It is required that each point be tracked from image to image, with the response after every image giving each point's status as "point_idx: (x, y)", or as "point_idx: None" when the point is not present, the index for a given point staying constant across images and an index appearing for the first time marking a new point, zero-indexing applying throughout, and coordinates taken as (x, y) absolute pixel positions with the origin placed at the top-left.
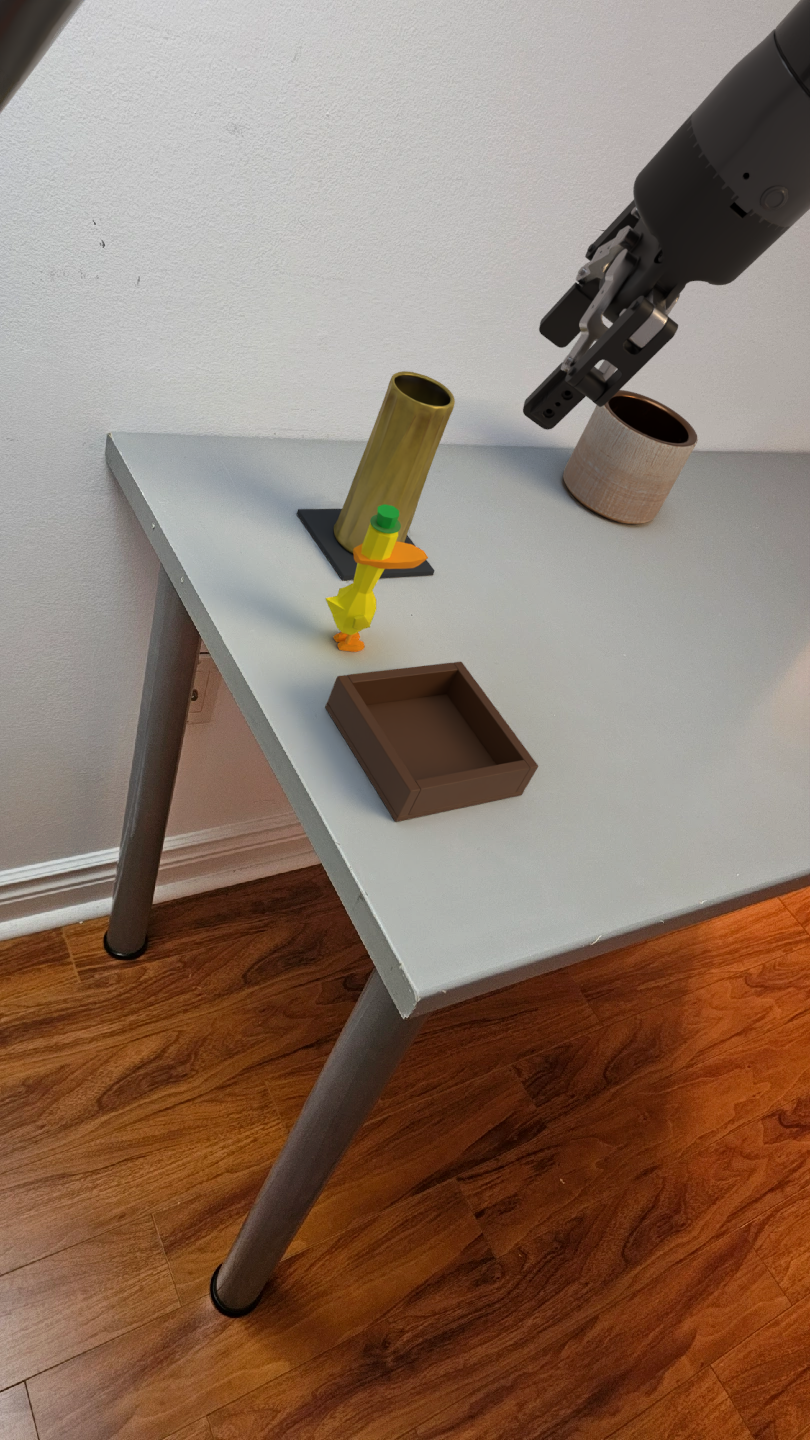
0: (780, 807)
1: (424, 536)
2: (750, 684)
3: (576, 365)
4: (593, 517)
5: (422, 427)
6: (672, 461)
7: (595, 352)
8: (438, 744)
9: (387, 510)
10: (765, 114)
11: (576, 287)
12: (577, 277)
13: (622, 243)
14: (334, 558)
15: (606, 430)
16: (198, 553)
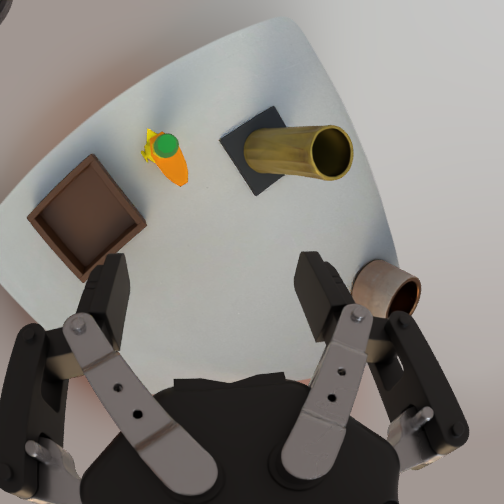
0: (163, 388)
1: (291, 186)
2: (249, 370)
3: (34, 344)
4: (351, 280)
5: (300, 158)
6: None
7: (7, 381)
8: (92, 223)
9: (167, 142)
10: None
11: (334, 307)
12: (351, 307)
13: (280, 459)
14: (235, 132)
15: (392, 283)
16: (201, 57)
